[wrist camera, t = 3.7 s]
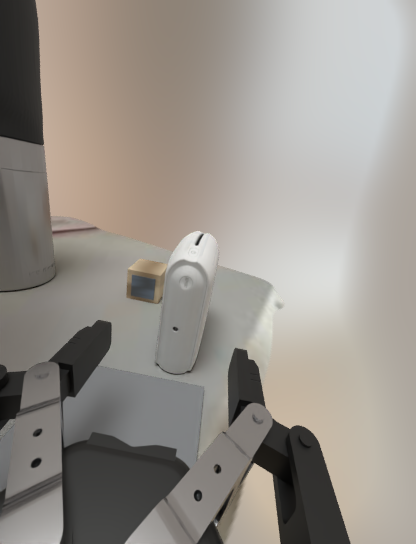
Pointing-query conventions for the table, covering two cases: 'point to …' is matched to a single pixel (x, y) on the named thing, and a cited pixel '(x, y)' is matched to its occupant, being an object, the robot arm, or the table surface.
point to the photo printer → (186, 301)
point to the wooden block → (146, 281)
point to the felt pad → (128, 414)
